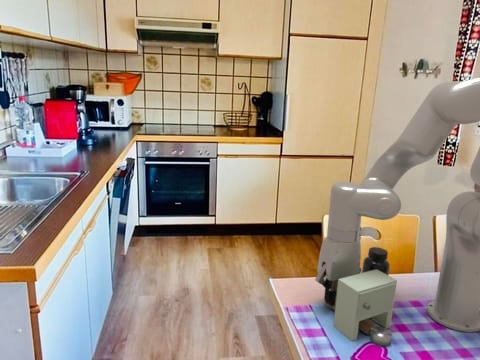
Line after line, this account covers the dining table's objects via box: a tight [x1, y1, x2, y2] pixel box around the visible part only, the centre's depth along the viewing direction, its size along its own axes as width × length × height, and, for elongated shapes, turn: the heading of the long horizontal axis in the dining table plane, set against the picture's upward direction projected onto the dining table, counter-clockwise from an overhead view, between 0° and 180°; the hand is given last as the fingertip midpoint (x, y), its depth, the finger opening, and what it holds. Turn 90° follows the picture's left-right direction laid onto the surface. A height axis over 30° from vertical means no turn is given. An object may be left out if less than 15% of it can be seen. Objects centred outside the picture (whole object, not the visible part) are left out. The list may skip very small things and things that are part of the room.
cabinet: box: [333, 269, 398, 342], centre depth 89 cm, size 12×7×12 cm, turn 118°
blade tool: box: [324, 280, 380, 335], centre depth 94 cm, size 4×14×8 cm, turn 28°
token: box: [369, 325, 393, 348], centre depth 86 cm, size 4×4×2 cm
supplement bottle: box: [361, 246, 391, 276], centre depth 106 cm, size 7×7×12 cm
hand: (336, 300), depth 99 cm, fingers closed on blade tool, 4 cm apart
